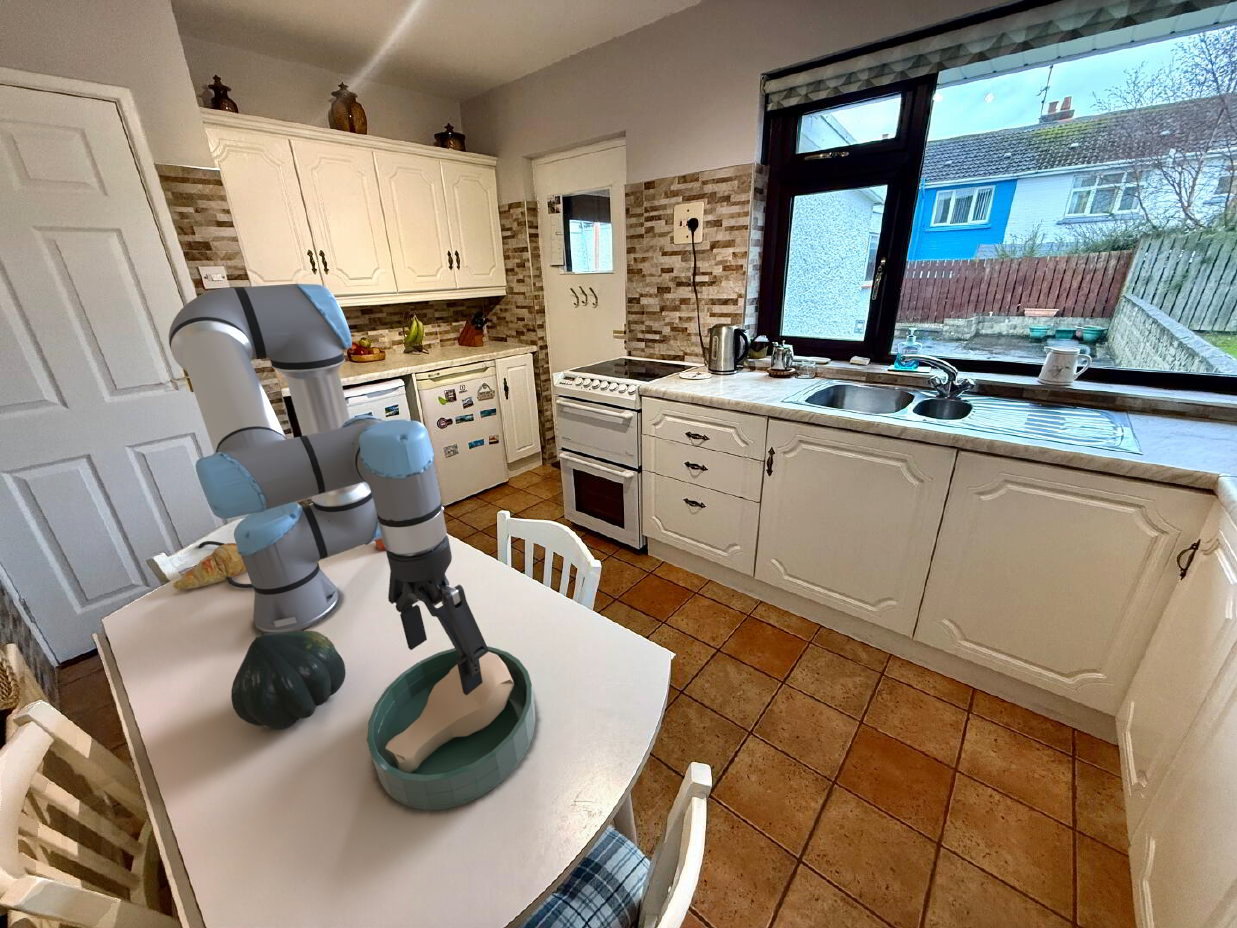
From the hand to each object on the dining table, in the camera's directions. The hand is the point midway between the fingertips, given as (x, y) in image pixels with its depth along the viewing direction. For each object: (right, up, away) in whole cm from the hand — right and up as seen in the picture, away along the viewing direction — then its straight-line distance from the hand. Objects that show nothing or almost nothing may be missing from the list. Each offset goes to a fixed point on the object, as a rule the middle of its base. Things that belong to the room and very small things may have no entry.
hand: (444, 664), depth 71 cm
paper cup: (-34, +8, +56) cm, 66 cm away
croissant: (-69, +3, +47) cm, 83 cm away
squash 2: (+1, -12, +5) cm, 13 cm away
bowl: (+1, -12, +5) cm, 13 cm away
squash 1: (-28, -11, +11) cm, 32 cm away
